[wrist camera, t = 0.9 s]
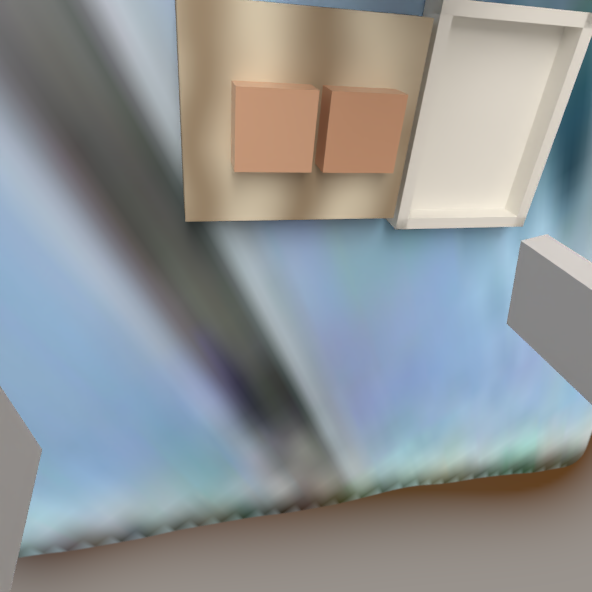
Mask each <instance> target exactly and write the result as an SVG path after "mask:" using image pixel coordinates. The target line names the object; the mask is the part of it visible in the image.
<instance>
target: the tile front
mask: <svg viewBox="0 0 592 592" xmlns="http://www.w3.org/2000/svg"><path fill="white" fill-rule="evenodd" d="M319 92H320V90H318V89H317V88H316V87H314V86H313V85H311V84H294V83H274V82H255V81H236V80H231V164H232V167H233V170H234V172H290V173H311V171H312V161H313V151H314V141H315V131H316V122H317V112H318V102H319Z"/></svg>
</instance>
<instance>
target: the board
mask: <svg viewBox="0 0 592 592" xmlns="http://www.w3.org/2000/svg"><path fill="white" fill-rule="evenodd" d="M175 9H176V32H177V54H178V77H179V100H180V123H181V146H182V169H183V192H184V210H185V220H186V222H191V221H250V220H308V219H367V218H394V213H395V208H396V203H397V198H398V193H399V188H400V183H401V178H402V174H403V169H404V164H405V159H406V154H407V149H408V144H409V139H410V134H411V129H412V125H413V120H414V115H415V110H416V105H417V100H418V95H419V90H420V85H421V80H422V76H423V71H424V66H425V61H426V56H427V51H428V46H429V41H430V36H431V32H432V27H433V22H434V18H430V17H423V16H415V15H405V14H394V13H383V12H372V11H361V10H350V9H340V8H329V7H318V6H307V5H296V4H285V3H275V2H264V1H253V0H175ZM231 80H236V81H255V82H274V83H294V84H311V85H313V86H314V87H316V88H317V89H318V90H320V92H319V102H318V112H317V122H316V131H315V141H314V151H313V161H312V171H311V173H290V172H234V170H233V167H232V164H231ZM323 85H332V86H351V87H370V88H389V89H397V90H399V91H402V92H404V93H406V94H408V100H407V105H406V110H405V115H404V120H403V126H402V131H401V136H400V141H399V146H398V151H397V156H396V162H395V167H394V172H393V173H323V172H322V171H321V170H320V169H319V168H318V166H317V165H316V164H315V157H316V147H317V138H318V128H319V118H320V109H321V99H322V89H323Z"/></svg>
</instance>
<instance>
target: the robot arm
mask: <svg viewBox="0 0 592 592" xmlns="http://www.w3.org/2000/svg"><path fill="white" fill-rule="evenodd" d="M507 324H508V325H509V326H510V327H511V328H512V329H513V330H514V331H515V332H516V333H517V334H518V335H519V336H520V337H521V338H522V339H523V340H525V341H526V342H527V343H528V344H529V345H530V346H531V347H532V348H533V349H534V350H535V351H536V352H537V353H538V354H539V355H540V356H541V357H542V358H543V359H544V360H545V361H547V362H548V363H549V364H550V365H551V366H552V367H553V368H554V369H555V370H556V371H557V372H558V373H559V374H560V375H561V376H562V377H563V378H564V379H565V380H566V381H567V382H569V383H570V384H571V385H572V386H573V387H574V388H575V389H576V390H577V391H578V392H579V393H580V394H581V395H582V396H583V397H584V398H585V399H586V400H587V401H588V402H590V403H591V404H592V262H590V261H588V260H587V259H585V258H584V257H582V256H581V255H579V254H577V253H576V252H574V251H573V250H571V249H569V248H568V247H566V246H565V245H563V244H562V243H560V242H558V241H557V240H555V239H554V238H552V237H551V236H549V235H542V236H538V237H534V238H530V239H526V240H522V241H521V244H520V250H519V255H518V261H517V267H516V273H515V279H514V284H513V290H512V296H511V302H510V308H509V313H508V319H507ZM41 452H42V449H41V447H40V446H39V444H38V443H37V441H36V440H35V438H34V437H33V435H32V434H31V432H30V431H29V429H28V427H27V426H26V424H25V423H24V421H23V420H22V418H21V417H20V415H19V414H18V412H17V411H16V409H15V408H14V406H13V405H12V403H11V402H10V400H9V399H8V397H7V396H6V394H5V393H4V391H3V390H2V388H1V386H0V592H10V589H11V585H12V581H13V576H14V572H15V567H16V563H17V559H18V554H19V550H20V545H21V541H22V536H23V532H24V527H25V523H26V519H27V514H28V510H29V505H30V501H31V496H32V492H33V487H34V483H35V479H36V474H37V470H38V465H39V461H40V456H41Z"/></svg>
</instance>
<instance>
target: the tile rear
mask: <svg viewBox="0 0 592 592" xmlns="http://www.w3.org/2000/svg"><path fill="white" fill-rule="evenodd" d="M407 100H408V94H406V93H404V92H402V91H399V90H397V89H389V88H370V87H351V86H332V85H323V89H322V99H321V109H320V118H319V128H318V138H317V147H316V157H315V164H316V165H317V166H318V168H319V169H320V170H321V171H322V172H323V173H393V172H394V167H395V162H396V156H397V151H398V146H399V141H400V136H401V131H402V126H403V120H404V115H405V110H406V105H407Z"/></svg>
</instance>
